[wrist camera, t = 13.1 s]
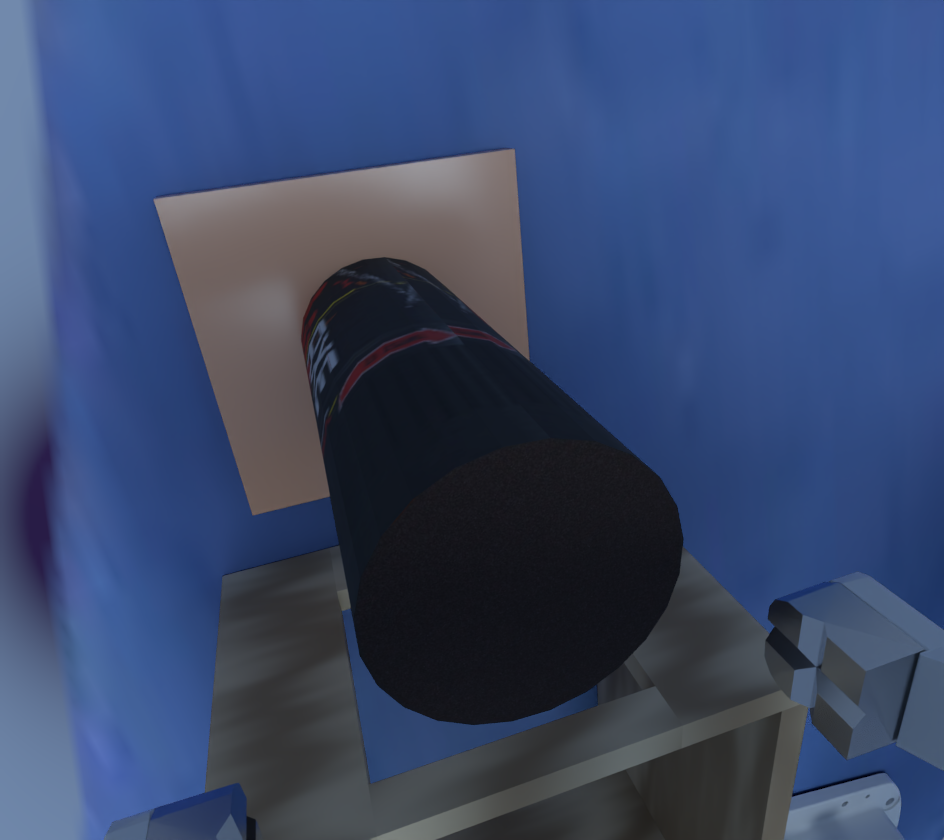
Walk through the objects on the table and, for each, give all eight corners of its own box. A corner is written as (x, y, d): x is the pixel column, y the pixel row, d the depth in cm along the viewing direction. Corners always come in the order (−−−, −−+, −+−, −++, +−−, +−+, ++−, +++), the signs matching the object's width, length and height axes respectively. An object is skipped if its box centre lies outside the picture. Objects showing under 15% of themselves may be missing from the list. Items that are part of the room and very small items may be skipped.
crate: (611, 474, 31) (813, 678, 20) (613, 727, 39) (758, 975, 28) (222, 576, 27) (195, 902, 16) (314, 833, 35) (340, 1171, 24)
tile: (507, 148, 23) (514, 148, 23) (529, 438, 29) (535, 446, 28) (157, 196, 21) (153, 198, 20) (252, 505, 26) (252, 515, 25)
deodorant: (298, 255, 22) (353, 450, 9) (465, 259, 24) (716, 427, 11) (303, 414, 24) (353, 753, 11) (454, 407, 26) (649, 693, 13)
